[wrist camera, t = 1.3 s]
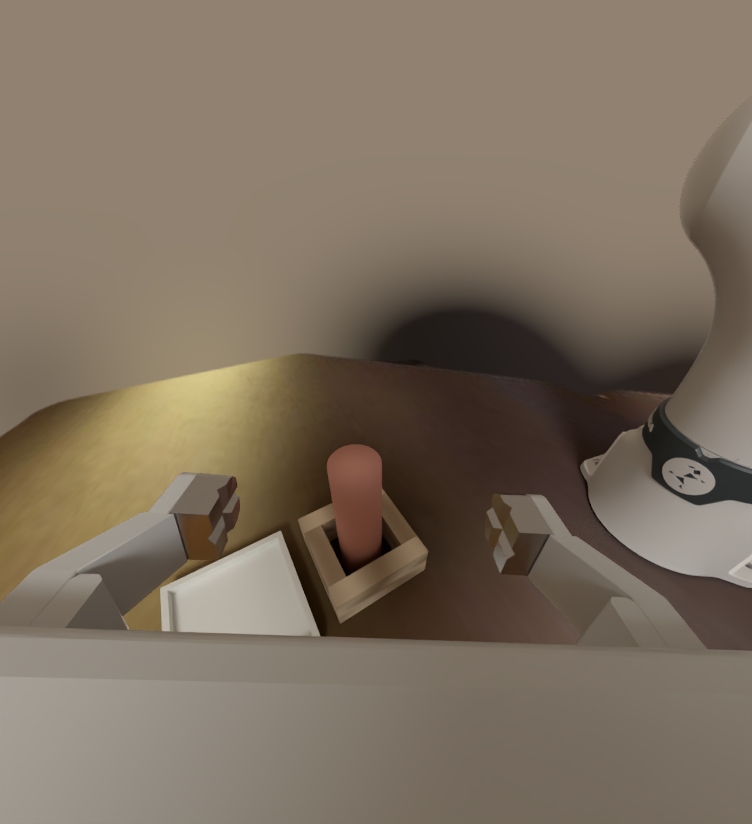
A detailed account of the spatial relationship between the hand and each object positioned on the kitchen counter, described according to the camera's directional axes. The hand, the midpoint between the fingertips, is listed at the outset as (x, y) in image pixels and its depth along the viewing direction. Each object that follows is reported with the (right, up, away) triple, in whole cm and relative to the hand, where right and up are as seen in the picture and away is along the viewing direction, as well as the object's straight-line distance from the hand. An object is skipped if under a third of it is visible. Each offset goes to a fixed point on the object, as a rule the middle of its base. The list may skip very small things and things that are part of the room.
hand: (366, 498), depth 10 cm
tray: (-13, -17, +20) cm, 29 cm away
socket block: (-1, -13, +25) cm, 28 cm away
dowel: (-1, -13, +25) cm, 28 cm away
